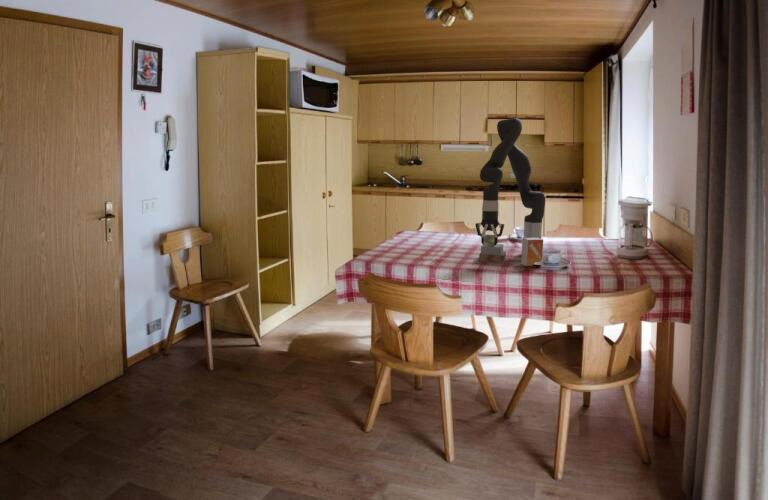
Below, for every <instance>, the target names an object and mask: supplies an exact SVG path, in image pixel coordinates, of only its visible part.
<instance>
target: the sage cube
mask: <svg viewBox="0 0 768 500" xmlns="http://www.w3.org/2000/svg"><path fill="white" fill-rule="evenodd" d="M494 241H495V236H494V234H486V233H485V235H484V243H483V244H482V245H483V246H485V247H494V246H495V245H494Z"/></svg>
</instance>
